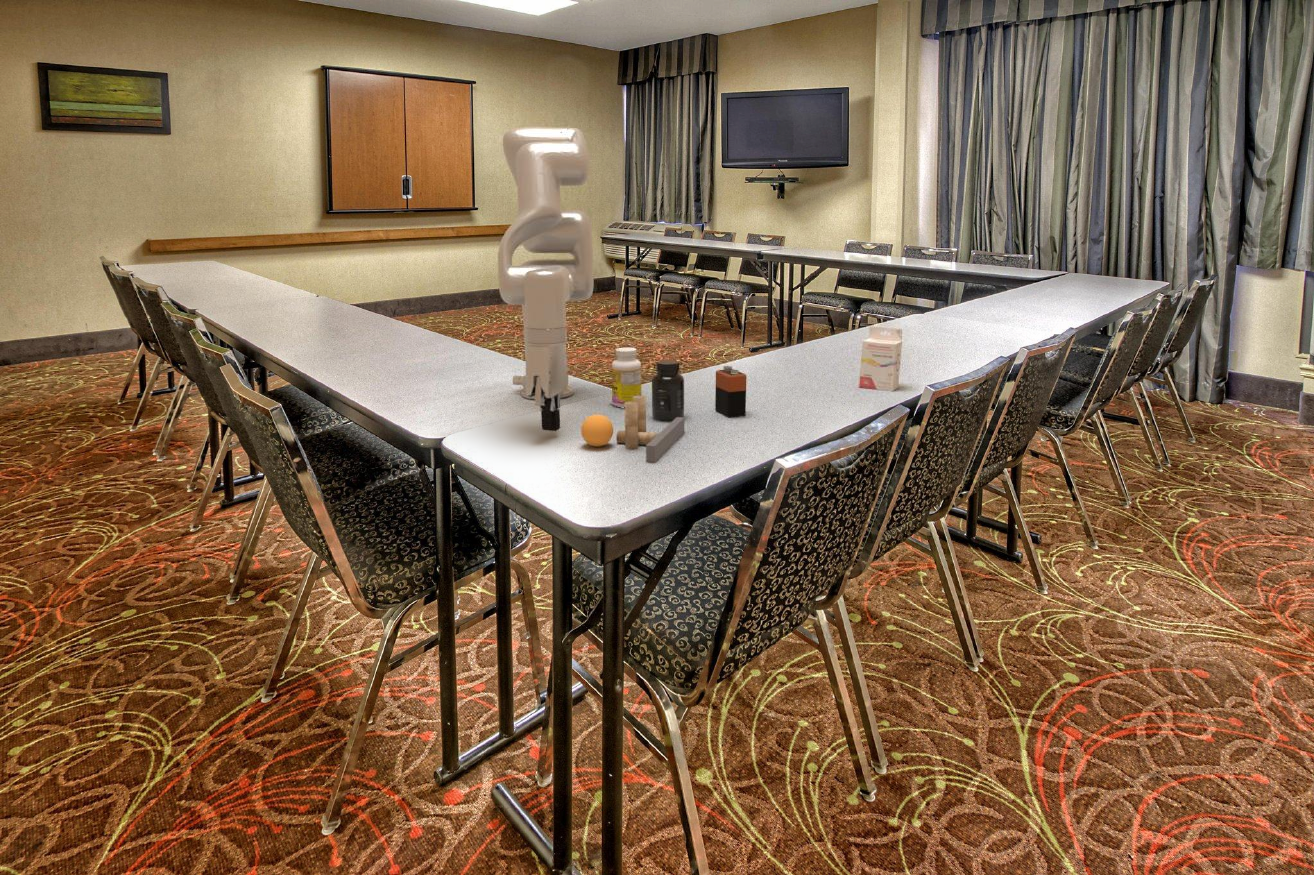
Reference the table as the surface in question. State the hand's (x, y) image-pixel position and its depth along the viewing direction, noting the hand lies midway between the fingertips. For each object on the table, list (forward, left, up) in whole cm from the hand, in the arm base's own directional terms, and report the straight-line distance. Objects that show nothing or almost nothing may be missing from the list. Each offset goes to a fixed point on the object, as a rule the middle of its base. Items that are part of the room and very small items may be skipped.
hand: (551, 429), depth 153 cm
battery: (+30, +27, -2) cm, 40 cm away
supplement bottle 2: (+18, +20, -2) cm, 27 cm away
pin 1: (+18, -2, -2) cm, 18 cm away
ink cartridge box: (+60, +61, -2) cm, 86 cm away
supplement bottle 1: (+6, +28, -2) cm, 29 cm away
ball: (+11, -3, +2) cm, 12 cm away
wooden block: (+14, 0, 0) cm, 14 cm away
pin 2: (+18, +3, -2) cm, 18 cm away
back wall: (+24, 0, -2) cm, 24 cm away
